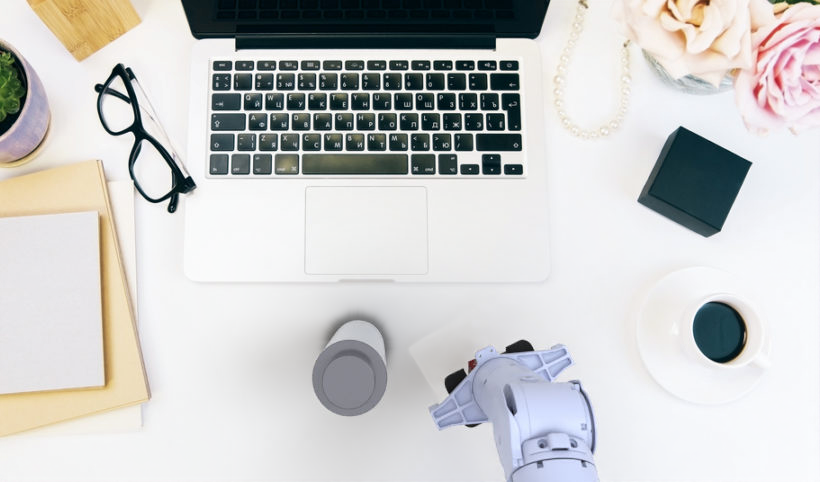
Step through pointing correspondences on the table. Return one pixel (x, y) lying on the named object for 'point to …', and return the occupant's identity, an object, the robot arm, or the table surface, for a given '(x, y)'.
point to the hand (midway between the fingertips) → (485, 372)
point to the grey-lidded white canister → (351, 370)
